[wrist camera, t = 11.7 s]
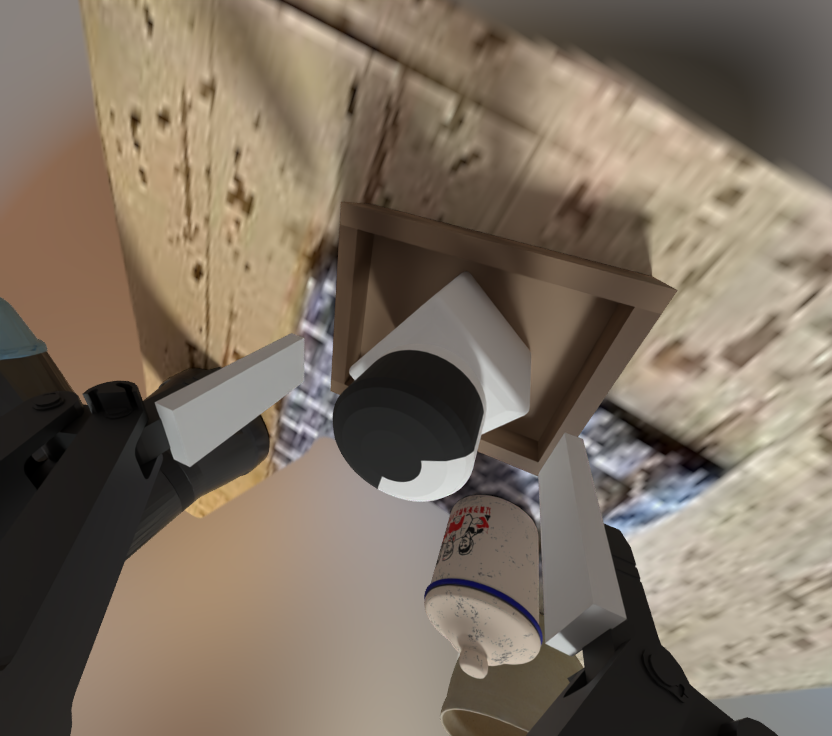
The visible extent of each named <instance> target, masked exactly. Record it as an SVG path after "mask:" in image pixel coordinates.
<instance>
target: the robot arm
mask: <svg viewBox="0 0 832 736" xmlns="http://www.w3.org/2000/svg"><path fill="white" fill-rule="evenodd" d="M303 382H304V337H301V336H298V335H295V334H293V333H291V334H289V335H287V336H285V337H283V338H281V339H279V340H277V341H275V342H273V343H271V344H269V345H267V346H265V347H263V348H261V349H259V350H257V351H255V352H253V353H251V354H249V355H247V356H245V357H243V358H241V359H239V360H237V361H235V362H233V363H232V364H230V365H228V366H226V367H224V368H220V367H218V368H214V369H211V370H203V369H198V368H192V369H187V370H185V371H183V372H181V373H178V374H176V375H174V376H172V377H170V378H168V379H167V380H165V381H164V382H163V383H162V384H161V385H160V386H159V388H158V389H157V390H156V391H155V392H153V393H152V394H151V395H150V396H148V397H147V398H146V399H145V400H144V401H143V400H142V397H141V395H140V392H139V389H138V387H137V385H135V383H132V382H129V381H112V382H106V383H103V384H99V385H97V386H94V387H92V388H90V389H88V390H87V391H86V392H84V393H83V396H84V398H85V400H86V402H87V404H88V405H83V404H82V402H81V400H80V398H79V396H78V395H77V394H76V393H75V392H74V390H73V389H72V387H71V386H70V385H69V383H68V382H67V380H66V379H65V377H64V376H63V374H62V373H61V371H60V370H59V368H58V367H57V366H56V364H55V363H54V361H53V360H52V358H51V357H50V355H49V354H48V352H47V347H46V344H45V343H44V342H43V341H42V340H39V339H37V338H36V336H35V335H34V334H33V332H32V331H31V330H30V329H29V327H28V326H27V325H26V323H25V322H24V321H23V320H22V318H21V317H20V316H19V314H18V313H17V312H16V310H15V309H14V308H13V307H12V306H11V305H10V304H9V303H8V302H7V301H5V300H4V299H2V298H1V297H0V736H70V734H71V728H72V713H71V708H72V702H73V699H74V695H75V692H76V689H77V687H78V684H79V681H80V679H81V676H82V674H83V671H84V668H85V666H86V663H87V660H88V658H89V655H90V652H91V650H92V647H93V644H94V641H95V639H96V636H97V634H98V631H99V628H100V626H101V623H102V620H103V618H104V615H105V612H106V610H107V607H108V605H109V602H110V599H111V597H112V594H113V591H114V588H115V586H116V583H117V581H118V578H119V575H120V573H121V570H122V567H123V565H124V562H125V561H126V560H127V559H128V558H129V557H130V556H131V555H133V554H134V553H135V552H136V551H137V550H138V549H140V548H141V547H142V546H143V545H144V544H145V543H147V542H148V541H149V540H150V539H151V538H152V537H153V536H155V535H156V534H157V533H158V532H159V531H160V530H162V529H163V528H164V527H165V526H166V525H167V524H169V523H170V522H171V521H172V520H173V519H174V518H176V517H177V516H178V515H179V514H180V513H181V512H183V511H184V510H185V509H186V508H187V507H189V506H190V505H191V504H192V503H193V502H194V501H196V500H197V499H198V498H200V497H201V496H203V495H205V494H207V493H209V492H211V491H213V490H215V489H217V488H219V487H221V486H223V485H225V484H227V483H229V482H231V481H232V480H234V479H236V478H238V477H240V476H243V475H246V474H248V473H249V472H251V471H252V470H253V469H254V468H256V467H257V466H258V465H259V464H260V463H261V462H262V461H263V460H264V459H265V458H266V457H267V455H268V452H269V438H268V434H267V430H266V428H265V425H264V423H263V421H262V419H261V417H260V416H259V415H260V414H261V413H263V412H264V411H265V410H267V409H268V408H269V407H271V406H272V405H273V404H275V403H276V402H277V401H279V400H280V399H281V398H283V397H284V396H285V395H287V394H288V393H289V392H291V391H292V390H293V389H295V388H296V387H297V386H299V385H300V384H301V383H303ZM538 475H539V500H540V525H541V550H542V575H543V600H544V625H545V644H547V645H549V646H551V647H553V648H555V649H557V650H559V651H561V652H563V653H565V654H567V655H569V656H571V657H573V656H574V655H576V654H577V653H578V652H580V651H581V650H583V658H584V666H585V667H584V668H583V669H581V670H580V671H578V672H576V673H575V674H573V675H572V676H570V677H568V678H567V679H568V681H569V682H570V683H569V684H568V685H567V687H566V688H565V689H564V690H563V691H562V693H561V694H560V695H559V696H558V697H557V699H556V700H555V701H554V702H553V703H552V705H551V706H550V707H549V708H548V709H547V711H546V712H545V713H544V714H543V715H542V717H541V718H540V719H539V720H538V721H537V723H536V724H535V725H534V726H533V727H532V729H531V730H530V731H529V732H528V733H527V735H526V736H778V735H777V734H776V733H775V732H773V731H772V730H770V729H769V728H768V727H766V726H765V725H764V724H762V723H761V722H759V721H756V720H753V719H751V718H748V717H747V718H743V719H740V720H736V721H734V720H733V719H732V718H730V717H729V716H728V715H727V714H725V713H724V712H723V711H722V710H720V709H719V708H718V707H717V706H715V705H714V704H713V703H712V702H710V701H709V700H708V699H707V698H705V697H704V696H703V695H702V694H700V693H699V692H698V691H697V690H696V689H695V688H693V687H692V686H691V685H690V684H689V681H688V680H687V678H686V676H685V674H684V672H683V670H682V668H681V666H680V665H679V664H678V662H677V661H676V660H675V659H674V657H673V656H672V655H671V653H670V652H669V651H667V650H666V649H665V648H664V647H663V646H662V645H661V643H660V640H659V638H658V634H657V631H656V628H655V625H654V621H653V618H652V615H651V612H650V608H649V605H648V602H647V599H646V595H645V592H644V589H643V586H642V582H640V576H639V573H638V569H637V568H636V567H635V565H636V563H635V560H634V556H633V553H632V550H631V547H630V545H629V544H628V542H627V541H626V539H625V538H624V536H623V534H622V533H621V531H620V530H618V529H616V528H613V527H611V526H609V525H606V524H604V523H603V519H602V515H601V511H600V507H599V503H598V499H597V495H596V490H595V486H594V482H593V478H592V474H591V470H590V466H589V462H588V458H587V453H586V449H585V445H584V441H583V439H581V438H579V437H576V436H573V435H570V434H568V433H564V434H563V436H562V438H561V439H560V441H559V442H558V444H557V445H556V447H555V449H554V450H553V452H552V453H551V455H550V456H549V458H548V460H547V461H546V463H545V464H544V466H543V467H542V469H541V471H540V472H539V474H538Z"/></svg>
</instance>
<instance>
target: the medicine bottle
mask: <svg viewBox="0 0 832 736" xmlns="http://www.w3.org/2000/svg"><path fill="white" fill-rule="evenodd" d="M349 374H350V375H351V376H352V378H353V379H354V380H355V381H354V382H353V383H352V384H350V385H349V386H348V387H347V388H346V389H345V390H344V391H343V392H342V393H341V395H340V396H339V397H338V399H337V401H336V403H335V407H334V410H333V429H334V435H335V440H336V443H337V445H338V448H339V450H340V452H341V454H342V455H343V457H344V458H345V460H346V461H347V463H348V464H349V465H350V467H351V468H352V469H353V470H354V471H355V472H356V473H357V474H358V475H359V476H360V477H362V478H363V479H364V480H365V481H366V482H368V483H369V484H371V485H372V486H374V487H375V488H377V489H379V490H380V491H382V492H384V493H387V494H389V495H391V496H394V497H397V498H400V499H405V500H409V501H418V502H419V501H420V502H422V501H433V500H437V499H441V498H444V497H446V496H449V495H451V494H453V493H455V492H456V491H458V490H459V489H460V488H462V487H463V485H464V484H465V483H466V482H467V480H468V479H469V477H470V475H471V473H472V470H473V466H474V462H475V458H476V454H477V450H478V446H479V442H480V438H481V435H482V434H484V433H486V432H488V431H491V430H493V429H495V428H497V427H499V426H502V425H504V424H506V423H508V422H511V421H513V420H515V419H517V418H519V417H522V416H524V415H526V414H527V413H528V412H529V408H530V381H531V352H530V350H529V349H528V348H527V346H526V345H525V344H524V343H523V341H522V340H521V339H520V337H519V336H518V335H517V333H516V332H515V331H514V330H513V328H512V327H511V326H510V324H509V323H508V322H507V320H506V319H505V318H504V317H503V315H502V314H501V313H500V311H499V310H498V309H497V307H496V306H495V305H494V304H493V302H492V301H491V300H490V298H489V297H488V296H487V294H486V293H485V292H484V291H483V289H482V288H481V287H480V285H479V284H478V283H477V281H476V280H475V279H474V278H473V276H472V275H471V274H470V273H469V272H467V271H465V272H462V273H461V274H460V275H459V276H457V277H456V278H455V279H454V280H452V281H451V282H450V283H449V284H448V285H446V286H445V287H444V288H443V289H441V290H440V291H439V292H438V293H436V294H435V295H434V296H433V297H432V298H430V299H429V300H428V301H427V302H426V303H425V304H423V305H422V306H421V307H420V308H419V309H418V310H416V311H415V312H414V313H413V314H412V315H411V316H409V317H408V318H407V319H406V320H405V321H404V322H402V323H401V324H400V325H399V326H398V327H397V328H395V329H394V330H393V331H392V332H391V333H390V334H388V335H387V336H386V337H385V338H384V339H383V340H381V341H380V342H379V343H378V344H377V345H376V346H374V347H373V348H372V349H371V350H370V351H369V352H367V353H366V354H365V355H364V356H363V357H362V358H360V359H359V360H358V361H357V362H356V363H355V364H353V365H352V366H351V368H350V370H349Z"/></svg>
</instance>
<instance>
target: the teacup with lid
mask: <svg viewBox="0 0 832 736" xmlns="http://www.w3.org/2000/svg"><path fill="white" fill-rule="evenodd" d="M424 599H425V602H424V603H425V610H426V613H427V616H428V618H429V620H430V621H431V623H432V624H433V626H434V627H435V628H436V629H437V630H438V631H439V632H440V633H441V634H442V635H443V636H444V637H446V638H447V639H448V640H449V641H450V643H451V644H452V646H453V647H454V648H455V649H456V650H457V651H458V652H459V653H460V656H459V664H460V667H461V669H462V670H463V671H464V672H465V673H467V674H468V675H470V676H472V677H475V678H479V679H481V678H484V677H485V676H486V675H487V672H488V666H497V665H501V664H523V663H527V662H529V661H531V660H533V659H534V658H535V657H536V656H537V654H538V653H539V651H540V647H541V645H542V641H543V635H542V631H541V628H540V626H539V554H538V531H537V528H536V526H535V524H534V522H533V521H532V519H531V518H530V517H529V516H528V515H527V514H526V513H525V512H524V511H523V510H522V509H521V508H519V507H518V506H516V505H514V504H513V503H511V502H509V501H506V500H504V499H501V498H498V497H494V496H489V495H473V496H468V497H465V498H463V499H461V500H460V501H458V502H457V503H456V504H455V505H454V507H453V508H452V511H451V514H450V517H449V521H448V524H447V528H446V532H445V535H444V539H443V542H442V546H441V549H440V553H439V556H438V560H437V563H436V567H435V570H434V574H433V577H432V581H431V584H430V585H429V586H428V587H427V589H426V591H425V595H424Z"/></svg>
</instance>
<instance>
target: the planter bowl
mask: <svg viewBox="0 0 832 736" xmlns="http://www.w3.org/2000/svg"><path fill="white" fill-rule="evenodd" d="M539 626H540V628H541V631H542V635H543V641H542V645H541V647H540V651H539V653H538V654H537V656H536V657H535V658H534V659H533V660H531V661H529V662H527V663H523V664H501V665H497V666H488V672H487V675H486V676H485V677H484V678H481V679H479V678H475V677H472V676H470V675H468V674H467V673H465V672H464V671H463V670H462V669H461V667H460V664H459V658H458V660H457V663H456V665H455V668H454V671H453V674H452V677H451V681H450V684H449V688H448V693H447V697H446V699H445V701H444V703H443V706H442V710H441V714H440V720H441V723H442V725H443V727H444V729H445V730H446V732H447V733H448V734H449V736H526V735H527V733H528V732H529V731H530V730H531V729H532V727H533V726H534V725H535V724H536V723H537V721H538V720H539V719H540V718H541V717H542V715H543V714H544V713H545V712H546V711H547V709H548V708H549V707H550V706H551V705H552V703H553V702H554V701H555V700H556V699H557V697H558V696H559V695H560V694H561V693H562V691H563V690H564V689H565V688H566V687H567V685H568V684H569V683H570V682H569V681H568V679H567V678H568V677H570V676H572V675H573V674H575V673H576V672H578V671H580V670H581V669H583V666H582V665H581V663H580V661H579V660H578V658H577V657H576V655H574V656H573V657H571V656H569V655H567V654H565V653H563V652H561V651H559V650H557V649H555V648H553V647H551V646H549V645H547V644H545V625H544V615H542V614H540V613H539Z"/></svg>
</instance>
